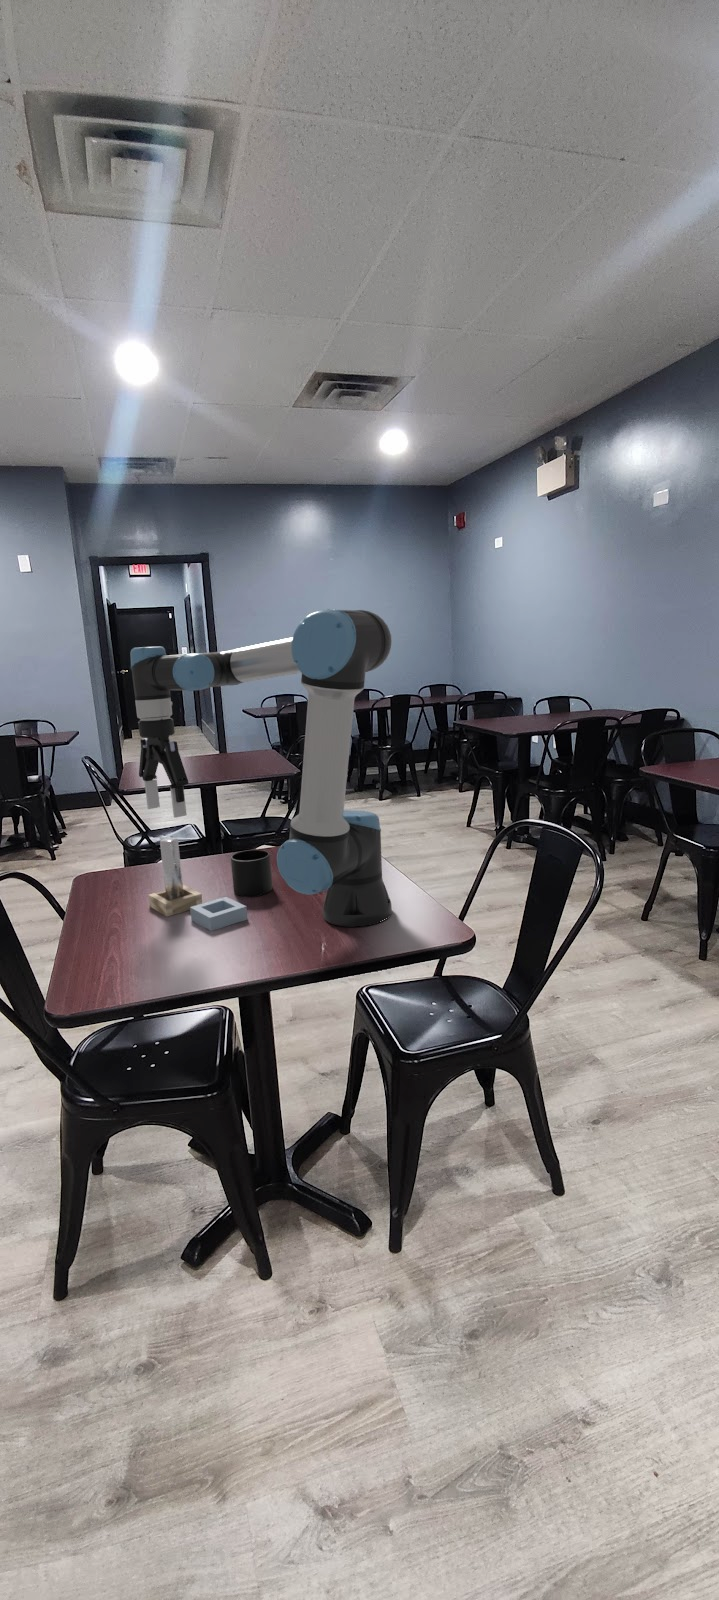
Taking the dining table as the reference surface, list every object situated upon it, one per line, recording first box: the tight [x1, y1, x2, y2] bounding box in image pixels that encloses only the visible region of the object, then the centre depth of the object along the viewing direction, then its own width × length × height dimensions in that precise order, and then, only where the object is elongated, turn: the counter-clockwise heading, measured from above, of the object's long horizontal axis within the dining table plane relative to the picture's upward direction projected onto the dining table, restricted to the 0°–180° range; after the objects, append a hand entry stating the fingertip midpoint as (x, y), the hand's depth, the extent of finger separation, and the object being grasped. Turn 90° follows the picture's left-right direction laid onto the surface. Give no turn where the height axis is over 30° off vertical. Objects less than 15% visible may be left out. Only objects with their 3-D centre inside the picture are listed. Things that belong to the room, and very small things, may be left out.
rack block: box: [148, 884, 203, 917], centre depth 168 cm, size 9×9×3 cm
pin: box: [159, 837, 184, 901], centre depth 167 cm, size 4×4×16 cm
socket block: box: [189, 896, 249, 932], centre depth 159 cm, size 9×9×3 cm
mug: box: [230, 849, 273, 898], centre depth 177 cm, size 9×12×9 cm
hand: (166, 812), depth 163 cm, fingers open, 13 cm apart
